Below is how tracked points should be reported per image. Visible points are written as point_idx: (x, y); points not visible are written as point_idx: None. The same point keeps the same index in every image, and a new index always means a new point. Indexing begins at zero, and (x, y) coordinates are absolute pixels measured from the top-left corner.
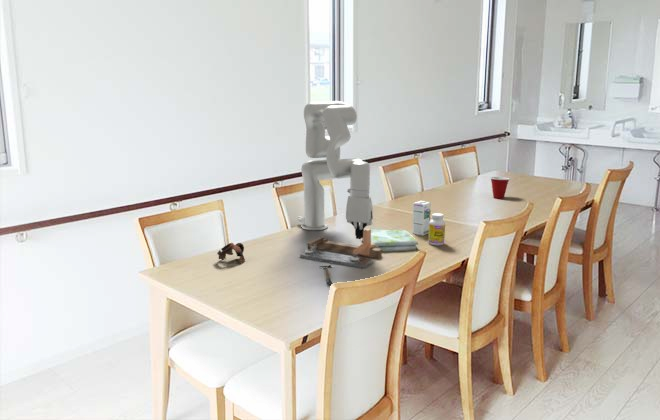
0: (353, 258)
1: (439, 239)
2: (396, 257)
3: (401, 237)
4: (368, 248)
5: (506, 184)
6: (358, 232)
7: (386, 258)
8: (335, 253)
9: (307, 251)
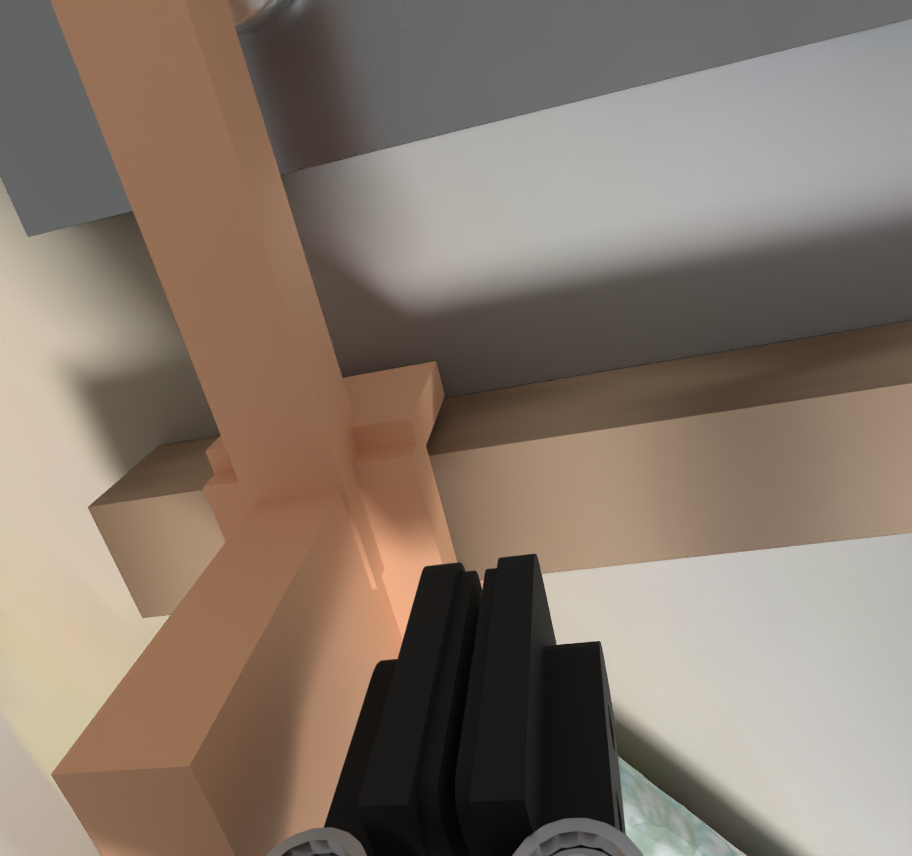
0: None
1: None
2: (42, 604)
3: None
4: (210, 446)
5: None
6: (425, 700)
7: (88, 505)
8: (871, 15)
9: None
